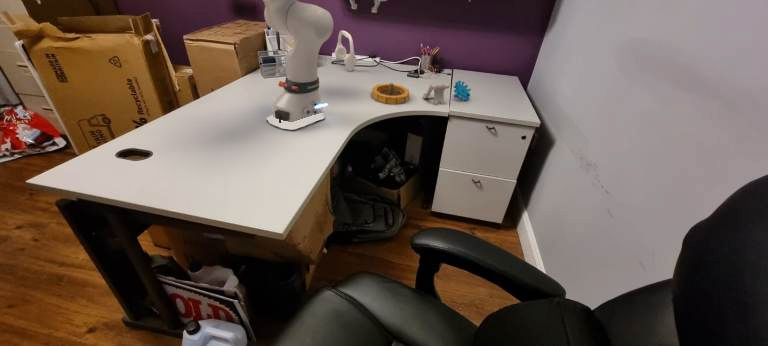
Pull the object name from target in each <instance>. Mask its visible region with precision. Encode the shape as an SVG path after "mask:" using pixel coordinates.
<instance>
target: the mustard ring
mask: <svg viewBox="0 0 768 346" xmlns="http://www.w3.org/2000/svg"><path fill="white" fill-rule="evenodd" d="M384 90H389V83H380V84H376V85H374V86H373V87H372V91H371V98H372V99H374V100H375V101H377V102H380V103H383V104H387V105H399V104H404V103H406V102H407V101H409V99H410V90H409V88H406V87H405V86H403V85H399V84H396V83H394V86H393V91H397V92H399V93H401V95H398V96H389V95H384V94H381V93H380V92H381V91H384Z"/></svg>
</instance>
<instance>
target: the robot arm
mask: <svg viewBox="0 0 768 346" xmlns="http://www.w3.org/2000/svg"><path fill="white" fill-rule="evenodd" d="M387 1H388V0H373V3H374V6H373V7H371V13H373V14H377V13H378V7H379V6H380V4H381V2H387ZM262 2H263V4H264V6H265V7H264V12H263V16H264V21H265V23H266V25H267V26H268V27H269V28H270V29H272V30H273V31H275V32H277V33H279V34H281V35H284V36H288V37H293V39H294V42H293V47H292V49H290V50H288V51H287V52H286V54H285V57H284V63H285V71H286V72H285V73H286V76H285V80H284V81H283V80H280V81H278V87H280V88H283V90H282V92H281V93H280V94H279V96H278V97H277V98H276V100H275V101H274V102H273V104H272V107H271V111H272V114H271V115H273V117H275V118H276V119H279V123H281V120H283V121H288V122H294V121H297V120H300V119H303V118H306V117H309V116H312V115H316V114H319V113H323V114H325V113H324V109H323V107H326V106H327V107H328V103H322V102H323V101H322V96H321V94H320V93H321V92H320V90H319V89H320V78H319V76H318V75H319V74H318V72H319V71H318V59H319V58H318V57H319V53H320V49H321V47H322V46H323V44H324V43H325V42H326V41H328V40H329V39H330V38H331V36H332V34H333V32H334V31H333V30H334V19H333V16H332V14H331V13H330V12H329V10H327V9H324V8H323V7H321V6H318V5H316V4H312V3H308V2H307V3H306V2H302V1H299V0H262ZM349 2H350V4H351V9H352V10H357V9H358V4H357V3H356V1H355V0H349Z"/></svg>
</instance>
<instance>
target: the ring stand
mask: <svg viewBox="0 0 768 346" xmlns="http://www.w3.org/2000/svg"><path fill="white" fill-rule="evenodd" d="M388 84H389V90H384V91H381V92H379V93H381V94H384V95H389V96H398V95H401V93H399V92H397V91H393V86H394V85H395V83H393V82H390V83H388Z"/></svg>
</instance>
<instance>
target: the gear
mask: <svg viewBox="0 0 768 346" xmlns="http://www.w3.org/2000/svg"><path fill="white" fill-rule="evenodd" d="M468 87H469V86H468V84H466V83H465V82H464V81H461V79H460V80H459V79H458V81H455V82H454V85H453V88H454V90H453V91H454V93H455V94H453V96H454V97H457V98H459V99H460V100H461V101H464V102H467V101H468V100H470V97H471V93H470V92H471V91H472V88H471V87H470V88H468Z"/></svg>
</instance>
